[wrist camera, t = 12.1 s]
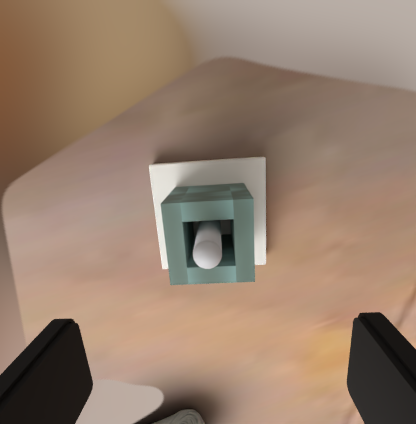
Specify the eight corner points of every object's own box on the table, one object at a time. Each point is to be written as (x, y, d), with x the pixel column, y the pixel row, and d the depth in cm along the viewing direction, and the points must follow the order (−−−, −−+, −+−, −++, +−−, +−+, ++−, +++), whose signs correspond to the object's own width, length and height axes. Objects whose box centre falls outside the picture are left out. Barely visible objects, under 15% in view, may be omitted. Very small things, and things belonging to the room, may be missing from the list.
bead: (243, 182, 21) (253, 198, 16) (245, 246, 23) (254, 281, 17) (175, 186, 22) (160, 203, 16) (181, 249, 23) (170, 285, 18)
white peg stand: (262, 156, 22) (296, 169, 13) (263, 257, 25) (291, 329, 16) (153, 163, 23) (107, 180, 13) (165, 261, 26) (135, 334, 16)
